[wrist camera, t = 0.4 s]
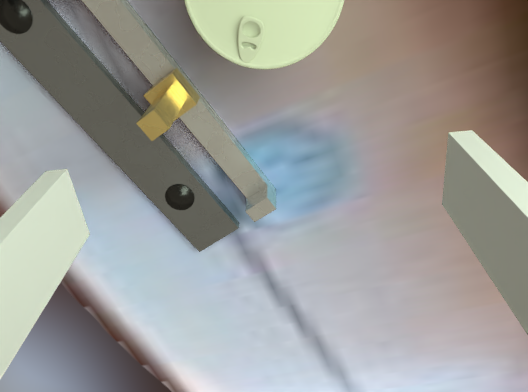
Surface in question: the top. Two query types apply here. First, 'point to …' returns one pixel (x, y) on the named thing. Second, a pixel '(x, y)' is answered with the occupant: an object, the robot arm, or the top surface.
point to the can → (264, 28)
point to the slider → (167, 104)
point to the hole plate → (111, 118)
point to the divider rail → (197, 118)
